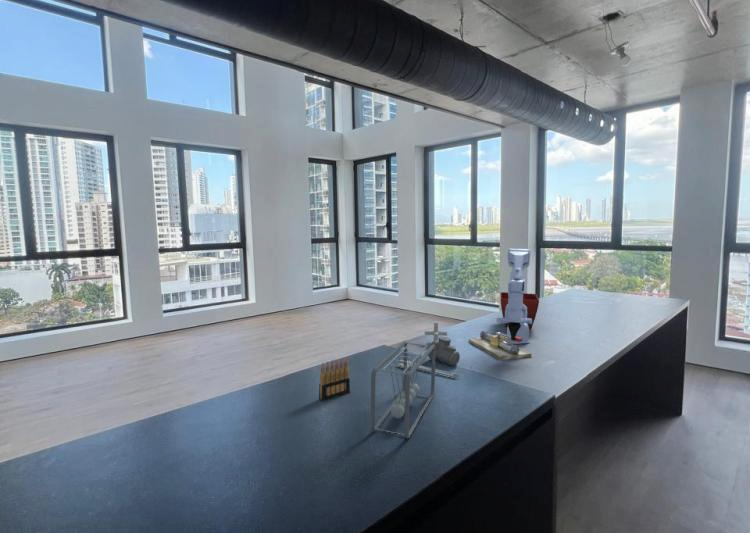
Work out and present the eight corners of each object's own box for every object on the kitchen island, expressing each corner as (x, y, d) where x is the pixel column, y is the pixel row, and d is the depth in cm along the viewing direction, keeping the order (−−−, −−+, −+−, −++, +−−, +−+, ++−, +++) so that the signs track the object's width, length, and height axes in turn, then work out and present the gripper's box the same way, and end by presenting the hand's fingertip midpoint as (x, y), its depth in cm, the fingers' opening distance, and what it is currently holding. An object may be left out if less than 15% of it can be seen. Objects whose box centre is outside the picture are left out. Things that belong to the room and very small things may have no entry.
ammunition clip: (321, 401, 126) (321, 364, 125) (318, 399, 128) (318, 362, 127) (350, 392, 133) (350, 357, 132) (346, 390, 134) (347, 355, 133)
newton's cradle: (403, 391, 135) (404, 339, 133) (434, 396, 131) (436, 342, 129) (369, 434, 107) (370, 369, 105) (407, 442, 103) (409, 375, 101)
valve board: (496, 339, 195) (496, 336, 195) (531, 357, 170) (531, 353, 170) (468, 341, 191) (468, 338, 191) (499, 360, 166) (500, 356, 166)
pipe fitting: (424, 359, 164) (429, 335, 163) (437, 356, 170) (441, 333, 168) (448, 371, 156) (453, 345, 154) (460, 367, 161) (465, 343, 160)
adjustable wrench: (460, 378, 147) (460, 374, 147) (452, 384, 142) (452, 379, 142) (403, 362, 163) (403, 358, 162) (393, 367, 158) (394, 362, 157)
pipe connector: (445, 341, 192) (446, 320, 191) (447, 347, 182) (447, 325, 181) (424, 340, 193) (424, 319, 192) (424, 346, 183) (425, 324, 182)
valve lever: (494, 334, 180) (494, 331, 180) (498, 334, 181) (498, 331, 181) (518, 342, 170) (518, 339, 169) (522, 341, 171) (522, 338, 171)
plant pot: (499, 329, 215) (500, 297, 213) (499, 320, 233) (500, 291, 231) (537, 332, 209) (539, 300, 207) (534, 323, 227) (536, 293, 225)
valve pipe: (487, 338, 193) (488, 327, 192) (519, 355, 169) (520, 342, 169) (479, 339, 192) (479, 327, 191) (510, 356, 168) (511, 343, 167)
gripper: (501, 310, 165) (499, 342, 167) (536, 310, 166) (533, 342, 168) (495, 306, 172) (493, 337, 174) (528, 307, 173) (526, 338, 175)
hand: (513, 340), depth 171 cm, fingers closed, pressing on valve lever
